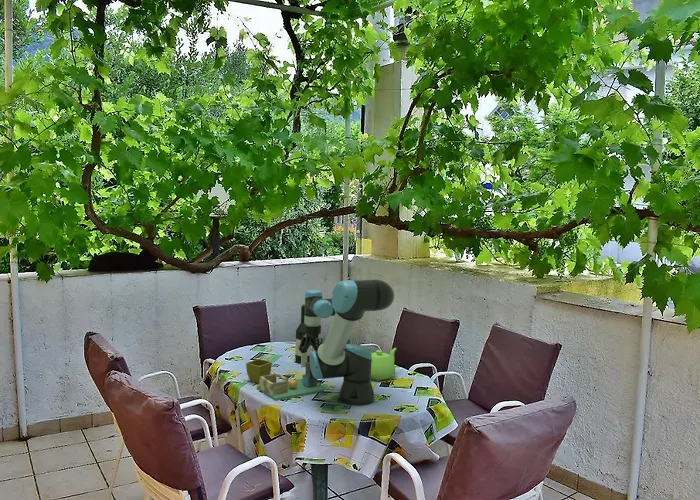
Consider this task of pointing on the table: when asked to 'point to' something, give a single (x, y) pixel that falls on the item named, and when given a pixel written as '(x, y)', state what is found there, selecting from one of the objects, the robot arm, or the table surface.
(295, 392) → the board
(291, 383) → the ball
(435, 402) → the table surface
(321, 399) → the table surface
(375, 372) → the teapot
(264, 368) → the flower pot
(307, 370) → the block
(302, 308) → the wine bottle
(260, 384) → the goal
